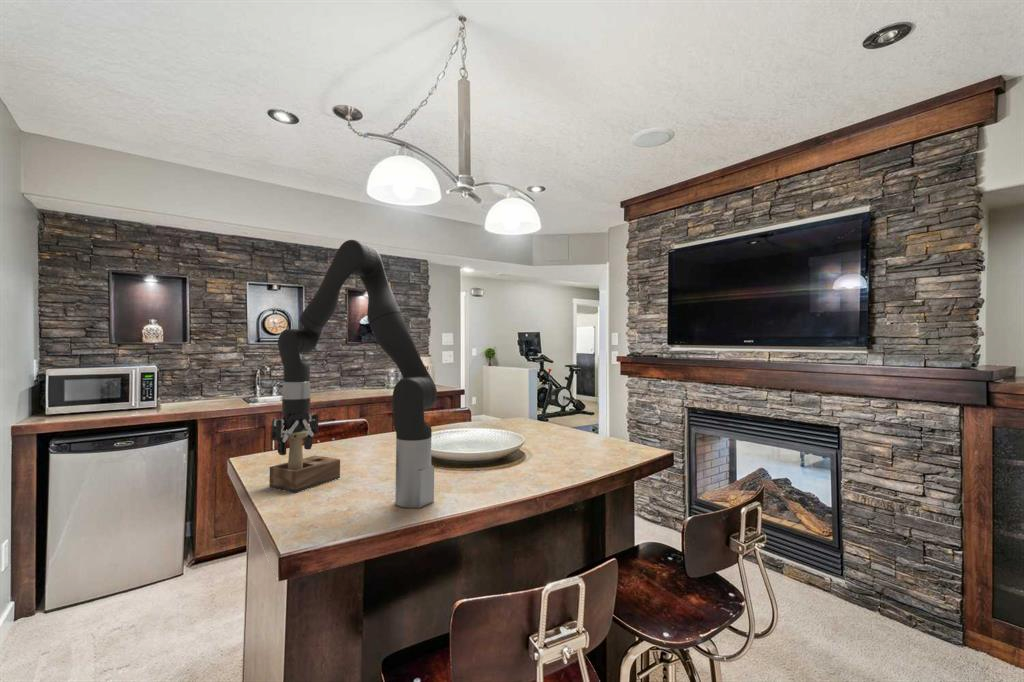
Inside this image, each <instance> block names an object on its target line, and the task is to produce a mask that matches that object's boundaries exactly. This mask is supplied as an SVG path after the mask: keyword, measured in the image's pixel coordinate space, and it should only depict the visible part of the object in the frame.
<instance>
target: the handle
mask: <svg viewBox="0 0 1024 682" xmlns="http://www.w3.org/2000/svg"><path fill="white" fill-rule="evenodd" d="M307 436H308V431H306V430H303V431H297V432H292V434H291V435H290V436H289V437H288V438H287V440H289V446H288V447H289V449H288V461H287V462H288V469H289V470H298V469H301V468H303V458H304V456H303V442H304V441H303V440H304V438H305V437H307Z"/></svg>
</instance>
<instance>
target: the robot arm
mask: <svg viewBox="0 0 1024 682" xmlns="http://www.w3.org/2000/svg"><path fill="white" fill-rule="evenodd" d="M351 275H356V276H359V278H360V280H361V281H362V284H363V286H364V288H365V291H366V293H367V296H368V297H367V298H368V299H367V311H366V312H367V313H366V314H367V315H366V316H367V321H368V324H369V326H370V329H371V332H372V334H373V336H374V338H375V340H376V341H375V342H377V345H379V347H380V348H381V349H382V350H383V351H384V352H385V354H387V355H388V356H389V358H390V359H391V360H392V361H393V362H394V363H395V365H396V366H397V368H398V370H399V372H400V374H401V377H402V379H401V378H400V380H399V381H398V382H396V384H395V385H394V387H393V392H392V399H391V400H392V402H391V403H392V423H393V428H394V431H395V499H394V501H395V502H394V503H395V505H396V506H398V507H400V508H410V509H411V508H416V509H417V508H418V509H420V508H423V507H425V506H426V505H430V504H431V503H433V502H434V501H435V466H434V465H432V437H433V436H432V434H433V433H432V431H433V430H432V426H431V425H429V424H427V423H426V420H425V410H427V409H430V408H432V407H433V406H434V405H435V403H436V401H437V398H438V391H437V387H436V386H437V385H436V384H435V381H434V380H433V378H432V376H431V374H430V372H429V371H428V369H427V367H426V365H425V363H424V362H423V360H422V358H421V356H420V353H419V352H418V349H417V347H416V345H415V342H414V339H413V337H412V335H411V333H410V331H409V328H408V325H407V323H406V320H405V318H404V316H403V313H402V311H401V309H400V307H399V305H398V303H397V300H396V298H395V295H394V293H393V290H392V288H391V285H390V283H389V280H388V277H387V273H386V270H385V266H384V263H383V260H382V258H381V254H380V253H379V251H378V250H377V249H376V248H375V247H374V246H372V245H370V244H367V243H365V242H361V241H360V240H356V239H347V240H346V241H344V242H343V243H341V245H340V246H339V248H338V249H337V250H336V253H335V254H334V257H333V259H332V261H331V263H330V265H329V267H328V269H327V271H326V273H325V275H324V278H323V280H322V281H321V284H320V286H319V287H318V289H317V291H316V293H315V294H314V296H313V297H312V299H311V300H310V301H309V302H308V304H307V306H306V307H305V308H304V310H303V311H302V312H301V314H300V317H299V323H300V324H301V326H303V327H302V328H301V329H296V328H287V329H284V330H282V332H281V333H280V334H279V336H278V339H277V348H278V352H279V356H280V360H281V363H282V366H283V383H282V391H281V392H282V394H281V395H282V396H281V401H282V402H281V413H282V415H283V416H282V418H281V419H277V418H274V419H272V421H271V434H270V440H271V441H274V442H277V453H278V454H279V455H280V456H286V455H287V440H288V439H287V438H288V437H289V436H290V435H291V434H292V432H297V431H303V430H306V431H308V436H307V437H305V438H304V439H303V440H304V441H303V448H304V450H307V451H308V450H312V447H313V437H314V435H316V434H319V415H318V414H317V413H310V411H311V383H310V380H311V366H310V363H308V361H304V360H302V359H301V356H300V354H306V353H310V352H311V351H312V350H314V348H316V346H317V344H318V342H319V339H320V337H321V335H322V331H323V329H324V327H325V326H326V324H327V323H328V322H329V321H330V319H331V317H332V316H333V315H334V313H335V312H336V309H337V307H338V303H339V297H340V293H341V289H342V287H343V285H344V284H345V282H347V279H349V278H350V277H351Z"/></svg>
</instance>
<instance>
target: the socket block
mask: <svg viewBox="0 0 1024 682" xmlns="http://www.w3.org/2000/svg"><path fill="white" fill-rule="evenodd" d="M338 478H341V458H340V459H339V458H334V457H328V456H322V455H312V456H308V457H303V468H301V469H298V470H289V469H288V461H287V462H284V463H280V464H276V465H273V466H269V487H270V489H274V488H275V489H274V490H278V489H280V490H279V491H283V490H285V492H288V491H289V492H288V493H292V492H293V494H297V493H300V492H299V491H301V492H303V491H302V490H304V491H306V490H305V489H307V488H310V489H312V488H311V487H313V488H315V487H314V486H316V487H318V486H317V485H319V486H321V485H320V484H322V485H324V484H323V483H325V484H327V483H326V482H328V483H330V482H329V481H331V482H333V481H332V480H334V481H336V480H335V479H337V480H339V479H338ZM307 490H308V489H307Z"/></svg>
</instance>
